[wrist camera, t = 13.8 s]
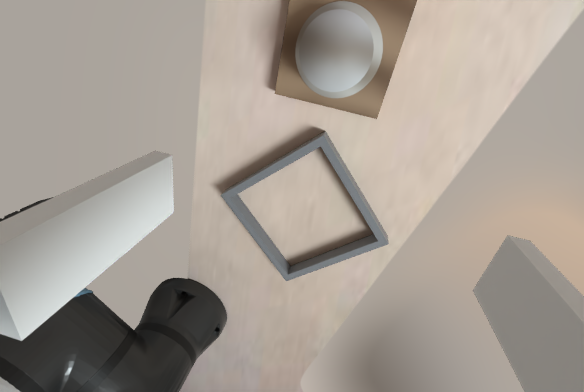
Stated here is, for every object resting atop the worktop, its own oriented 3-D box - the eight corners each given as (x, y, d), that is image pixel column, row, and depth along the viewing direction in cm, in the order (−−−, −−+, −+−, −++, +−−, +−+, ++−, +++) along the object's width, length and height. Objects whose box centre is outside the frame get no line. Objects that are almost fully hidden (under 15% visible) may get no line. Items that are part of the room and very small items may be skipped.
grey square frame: (289, 272, 47) (286, 281, 45) (226, 189, 42) (220, 195, 40) (387, 235, 40) (388, 244, 38) (325, 131, 35) (323, 135, 33)
